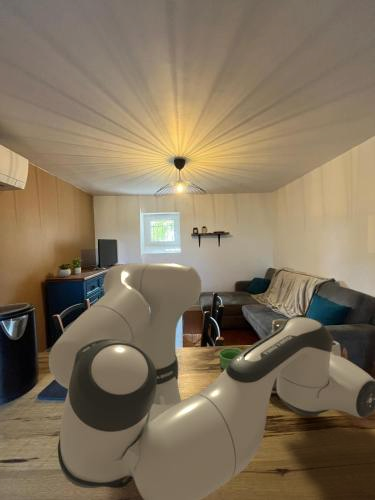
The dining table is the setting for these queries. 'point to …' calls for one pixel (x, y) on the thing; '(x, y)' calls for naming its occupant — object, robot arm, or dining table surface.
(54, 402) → the dining table surface
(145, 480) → the robot arm
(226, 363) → the ramekin
